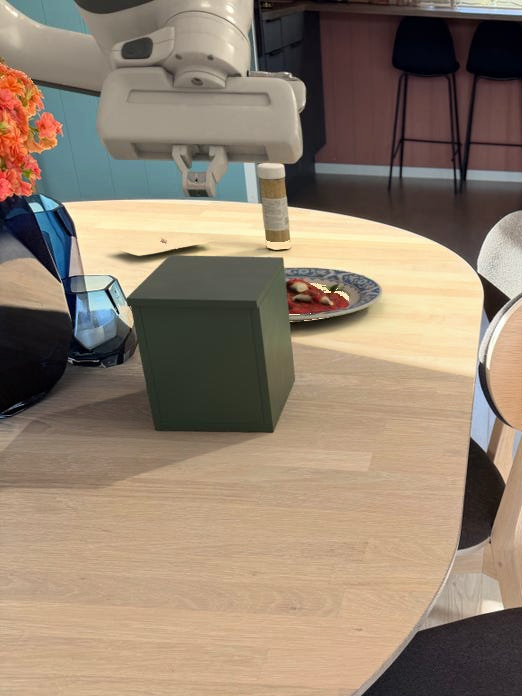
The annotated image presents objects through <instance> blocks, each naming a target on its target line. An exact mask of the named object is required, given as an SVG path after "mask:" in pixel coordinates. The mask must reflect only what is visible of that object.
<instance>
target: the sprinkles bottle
mask: <svg viewBox="0 0 522 696" xmlns="http://www.w3.org/2000/svg"><path fill="white" fill-rule="evenodd" d="M256 169H257V177H258V180H259V189H260V199H261V200H260V201H261V212H262V221H263V228H264V234H265V241H266V240H267V241H270V242H285V241H288V240H290V241H291V234H290V228H291V227H290V217H289V207H288V197H287V189H286V182H285V180H286V178H285V177H286V170H285V169H286V168H285V164H281V163H258V164H257V166H256Z"/></svg>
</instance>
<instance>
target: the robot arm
mask: <svg viewBox="0 0 522 696" xmlns="http://www.w3.org/2000/svg"><path fill="white" fill-rule="evenodd" d="M254 1H255V0H73V2H74V4H75V7H76V9H77V10H78V12H79V14H80V16H81V18H82V20H83V21H84V24H85V25H86V28H87V29H88V31H89V33H90V34H89V33H84V32H79V31H78V32H77V31H74V30H68V29H64V28H59V27H55V26H50V25H46V24H43V23H40V22H38V21H36V20H34V19H32V18H30V17H29V16H27V15H25V14H24V13H22V12H21V11H20V10H18V9H17V8H16V7H14V6H13V5H12V4H11V3H10V2H8V1H7V0H0V57H3V58H4V63H5V64H6V65H7V66H8V67H9V68H12V69H15V70H19V71H22V72H24V73H25V74H26V75H27V76H28V77H30V78H31V80H32V81H33V83H34V84H33V86H38V87H44V88H48V89H49V88H50V89H54V90H58V91H65V92H71V93H75V94H80V95H85V96H90V97H95V98H99V100H98V106H97V114H96V120H95V121H96V123H95V126H96V127H95V128H96V129H95V130H96V134H97V137H98V139H99V141H100V143H101V145H102V146H103V148H104V150H105V151H106V152H107V153H108V154H109V156H110V157H111V158H112V159H114V160H116V161H152V162H153V161H155V162H156V161H157V162H174V163H175V165H176V168H177V170H178V172H179V173H180V175H181V190H182V193H183V195H184V197H185V198H209V199H210V198H211V199H212V198H213V199H214V198H215V197H216V188H217V187H216V186H217V184H218V183H219V182H220V181H221V179H222V178H223V176H225V174H226V173H227V171H228V170H229V163H240V164H241V163H242V164H243V163H245V164H262V163H280V164H283V165H285V164H288V165H292V164H296V163H297V162H298V161H299V159H300V158H302V156H303V152H304V144H303V143H304V141H303V130H302V123H301V122H302V121H301V116H300V113H302V112H303V110H304V109H305V107H306V103H307V88H306V85H305V83H304V82H303V81H302V80H301V79H300V78H298V77H296V76H293V73H291V72H287V71H279V72H270V71H264V70H263V71H261V70H260V71H259V70H251V61H252V60H251V59H252V48H251V42H250V38H249V33H250V31H251V29H252V25H253V21H254ZM1 61H2V59H1ZM193 162H194V163H195V162H196V163H197V162H199V163H209V165H208V166H207V167H206V169H205V170H204V171H197V172H196V171H190V170H191V169H192V168H193Z"/></svg>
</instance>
